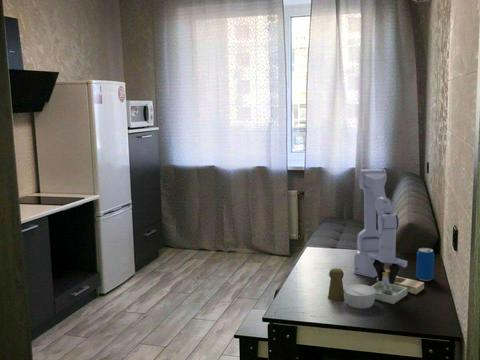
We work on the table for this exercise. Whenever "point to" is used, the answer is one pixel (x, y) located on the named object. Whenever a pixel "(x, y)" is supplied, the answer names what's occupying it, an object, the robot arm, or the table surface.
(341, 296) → the cork
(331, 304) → the table surface
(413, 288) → the wooden block with hole
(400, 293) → the tray
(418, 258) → the beverage can
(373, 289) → the ramekin
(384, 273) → the white and gold cylinder
